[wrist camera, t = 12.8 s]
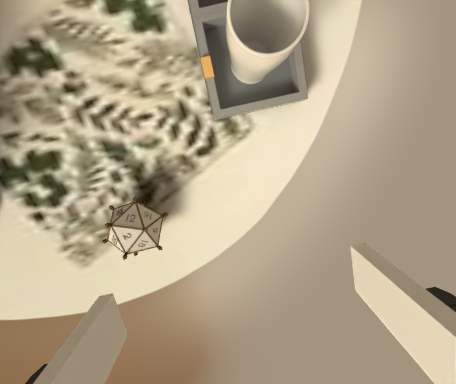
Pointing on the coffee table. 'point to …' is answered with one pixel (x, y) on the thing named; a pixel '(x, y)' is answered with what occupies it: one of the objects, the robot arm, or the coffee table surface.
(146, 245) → the game die
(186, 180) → the coffee table surface
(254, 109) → the divided desk organizer
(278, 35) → the drinking glass
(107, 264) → the coffee table surface
